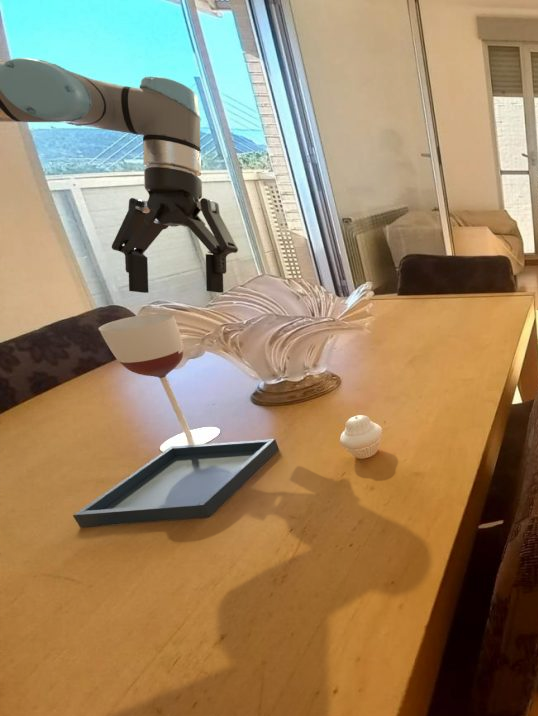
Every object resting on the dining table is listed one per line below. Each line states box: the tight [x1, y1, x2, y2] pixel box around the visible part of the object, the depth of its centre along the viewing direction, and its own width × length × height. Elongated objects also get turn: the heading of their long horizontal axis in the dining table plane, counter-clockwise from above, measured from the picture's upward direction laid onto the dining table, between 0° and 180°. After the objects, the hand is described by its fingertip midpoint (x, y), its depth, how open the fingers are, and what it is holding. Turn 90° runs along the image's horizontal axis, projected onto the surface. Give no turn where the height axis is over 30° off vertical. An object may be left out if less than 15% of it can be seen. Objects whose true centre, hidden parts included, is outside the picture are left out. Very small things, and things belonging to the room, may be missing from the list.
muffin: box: [339, 414, 383, 460], centre depth 77 cm, size 6×6×7 cm
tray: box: [72, 438, 280, 528], centre depth 71 cm, size 17×17×2 cm
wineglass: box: [98, 312, 221, 453], centre depth 80 cm, size 9×10×22 cm
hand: (177, 292), depth 85 cm, fingers open, 13 cm apart
